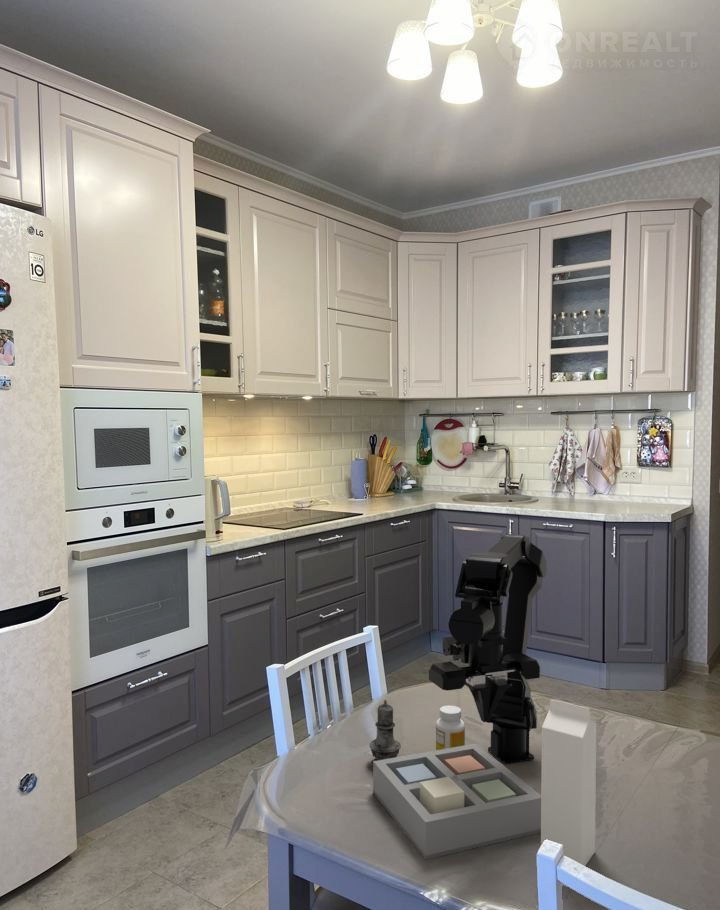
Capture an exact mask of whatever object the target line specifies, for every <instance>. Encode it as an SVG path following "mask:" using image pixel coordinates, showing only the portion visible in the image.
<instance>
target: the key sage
mask: <svg viewBox="0 0 720 910" xmlns="http://www.w3.org/2000/svg"><path fill="white" fill-rule="evenodd" d="M472 791H473V792H474V793H475V794H476V795H477V796H479V797H480V798H481V799H482V800H483V801H484V802H485V803H488V802H493V801H498V800H503V799H507V798H512V797H516V793H514V792H513V791H512V790H511V789H510V788H508V787H507V786H506V785H505V784H504V783H502V782H501V781H500V780H499V779H498V780H493V781H488V782H483V783H478V784H473V785H472Z"/></svg>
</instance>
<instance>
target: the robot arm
mask: <svg viewBox="0 0 720 910" xmlns="http://www.w3.org/2000/svg"><path fill="white" fill-rule="evenodd" d="M546 575H547V560H546V556H545V554H544V552H543V551H542V549H540V548H539V547H537V546H536V545H534V543H533V542H531V540H530V538H529V536H526V535H524V534H511V533H509V534H508V533H506V534H503V535H502V536H501V537H500V540H499V541H498V542H497V543H495V545H493V546H492V547H491V548H490V549H488V551H487V550H486V551H482V552H473V553H470V554H467V556H466V558H465V559H464V560H463V561H462V564H461V567H460V573H459V577H458V580H457V584H456V590H455V594H454V596H455V598H459V599H462V600H460V607H459V608H457V609H456V610H455V611H453V612H452V614H451V615H450V617H449V620H448V629H449V630H448V631H449V632H450V635H451V636H445V637H442V653H443V655H444V656H445V657H449V656H452V661H454V662H455V661H459V660H460V662H461V663H463V664H467V666H461V667H460V666H458V665H456V664H455V663H453V662H451V661H445V662H438V663H437V662H435V663H432V664H431V666H430V667H429V669H428V681H430V682H431V683H432V684H434V685H436V686H437V687H438V688H439V689H441V691H442V690H443V691H454V690H462V689H463V687H464V686H466V687H468V689H469V691H470V693H471V696H472V698H473V700H474V703H475V706H476V709H477V712H478V715H479V719H480V721H482V722H483V723H488V724H490V723H491V724H492V730H490V746H488V748H487V750H488V752H490V753H491V755H492V756H493V755H494V757H496V758H497V759H499V760H500V761H501V762H502V764H503V763H504V764H506V765H508V764H515V763H518V762H525V761H530V760H534V759H535V755H534V754H532V752H530V732H531V730H534V729H537V728H538V717H537V709H536V706H535V703H534V699H533V698H532V697H531V696H532V695H531V694H532V689H531V687H530V684H529V682H528V680H534V679H540V678H541V665H540V663H539V661H538V660H536V659H535V658H533V657H531V656H530V655H527V649H528V648H527V647H528V639H529V629H530V623H531V622H530V620H531V611H532V602H533V601H532V600H533V598H534V597H535V596H536V594H537V593H538V592H539V591H540V589H542V585H543V584H542V583H543V579H544V578H545V577H546ZM506 597H508V598H507V604H506V605H507V606H506V614H505V623H504V611H503V610H504V603H503V601H504V600H505V598H506ZM503 624H504V625H503ZM503 626H504V627H503ZM503 628H504V630H503ZM503 632H504V633H503Z"/></svg>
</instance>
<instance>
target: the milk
mask: <svg viewBox="0 0 720 910" xmlns="http://www.w3.org/2000/svg"><path fill="white" fill-rule="evenodd" d="M548 708H549V710H548V711H547V714H546V717H545V718H544V721H543V723H542V725H541V781H540V782H541V785H540V788H541V790H540V791H541V792H540V795H541V833H540V844H541V843H542V842H543V841H544V840H546V839H548V840H551V841H554V842H557V843H561V844H563V845H564V854H565V855H566V856H568V857H570V858H572V859H574V860H576V861H578V862H579V863H581V864H583V865H585V866H587V864H588V863H589V861H590V860H591V858H592V857H593V855H594V854H595V852H596V800H597V799H596V798H597V797H596V795H597V794H596V793H597V792H596V791H597V790H596V782H597V779H596V777H597V773H596V772H597V771H596V770H597V723H595V722H594V721H593V720H592V719H591V710H590V708H589V707H587V706H581V705H577V704H574V703H573V704H572V703H569V702H565V701H561V700H555V699H550V700H549V707H548Z"/></svg>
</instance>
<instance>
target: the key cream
mask: <svg viewBox="0 0 720 910" xmlns="http://www.w3.org/2000/svg"><path fill="white" fill-rule="evenodd" d="M420 803H421V804H422V805H423V806H424V808H425V809H426V810H427V811H428V812H429V813H430V814H436V813H441V812H445V811H450V810H455V809H460V808H464V791H463V790H462V789H461V788H460V787H459V786H458V785H457V784H456V783H455V782H454V781H453V780H452V779H450V778H449V777H444V778H439V779H434V780H428V781H423V782H420Z"/></svg>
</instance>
